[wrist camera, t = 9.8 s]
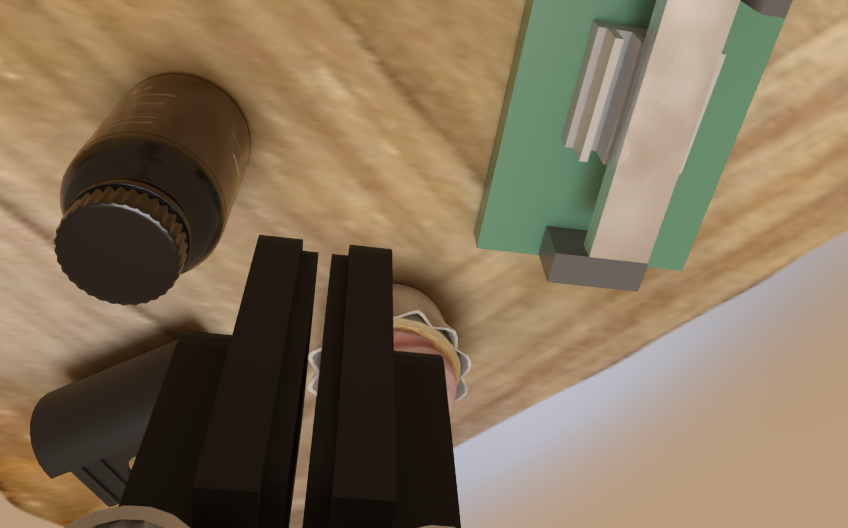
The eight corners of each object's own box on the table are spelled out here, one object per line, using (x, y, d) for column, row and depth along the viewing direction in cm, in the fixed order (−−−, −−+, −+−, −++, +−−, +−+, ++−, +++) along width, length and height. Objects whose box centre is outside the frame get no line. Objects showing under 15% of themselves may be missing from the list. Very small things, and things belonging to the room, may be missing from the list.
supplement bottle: (277, 162, 40) (242, 293, 30) (168, 210, 42) (100, 351, 32) (205, 45, 37) (138, 150, 27) (88, 102, 38) (-17, 223, 28)
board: (563, -163, 33) (602, -147, 27) (821, -116, 34) (911, -92, 28) (474, 234, 43) (488, 307, 38) (673, 256, 45) (717, 330, 39)
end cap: (191, 307, 45) (164, 384, 40) (254, 386, 49) (238, 467, 43) (55, 364, 47) (11, 446, 42) (125, 436, 51) (93, 520, 45)
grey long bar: (676, -74, 31) (690, -68, 30) (745, -62, 31) (762, -56, 30) (582, 243, 38) (590, 258, 37) (639, 249, 39) (648, 265, 37)
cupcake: (293, 274, 44) (272, 393, 36) (451, 247, 44) (467, 360, 35) (332, 391, 49) (322, 518, 41) (474, 367, 49) (493, 491, 41)
